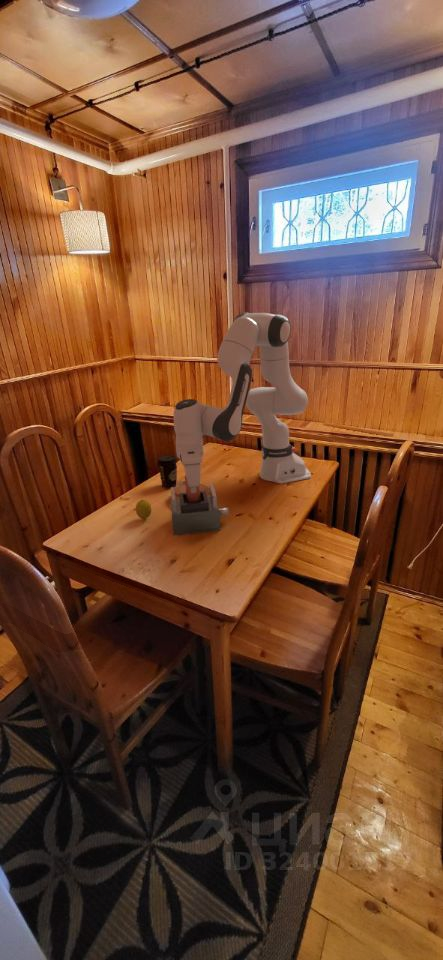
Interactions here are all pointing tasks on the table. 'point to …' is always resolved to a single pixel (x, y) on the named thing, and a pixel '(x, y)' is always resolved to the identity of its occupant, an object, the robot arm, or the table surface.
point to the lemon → (143, 509)
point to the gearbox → (196, 513)
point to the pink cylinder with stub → (190, 496)
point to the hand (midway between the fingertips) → (192, 488)
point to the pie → (183, 490)
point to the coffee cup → (168, 471)
